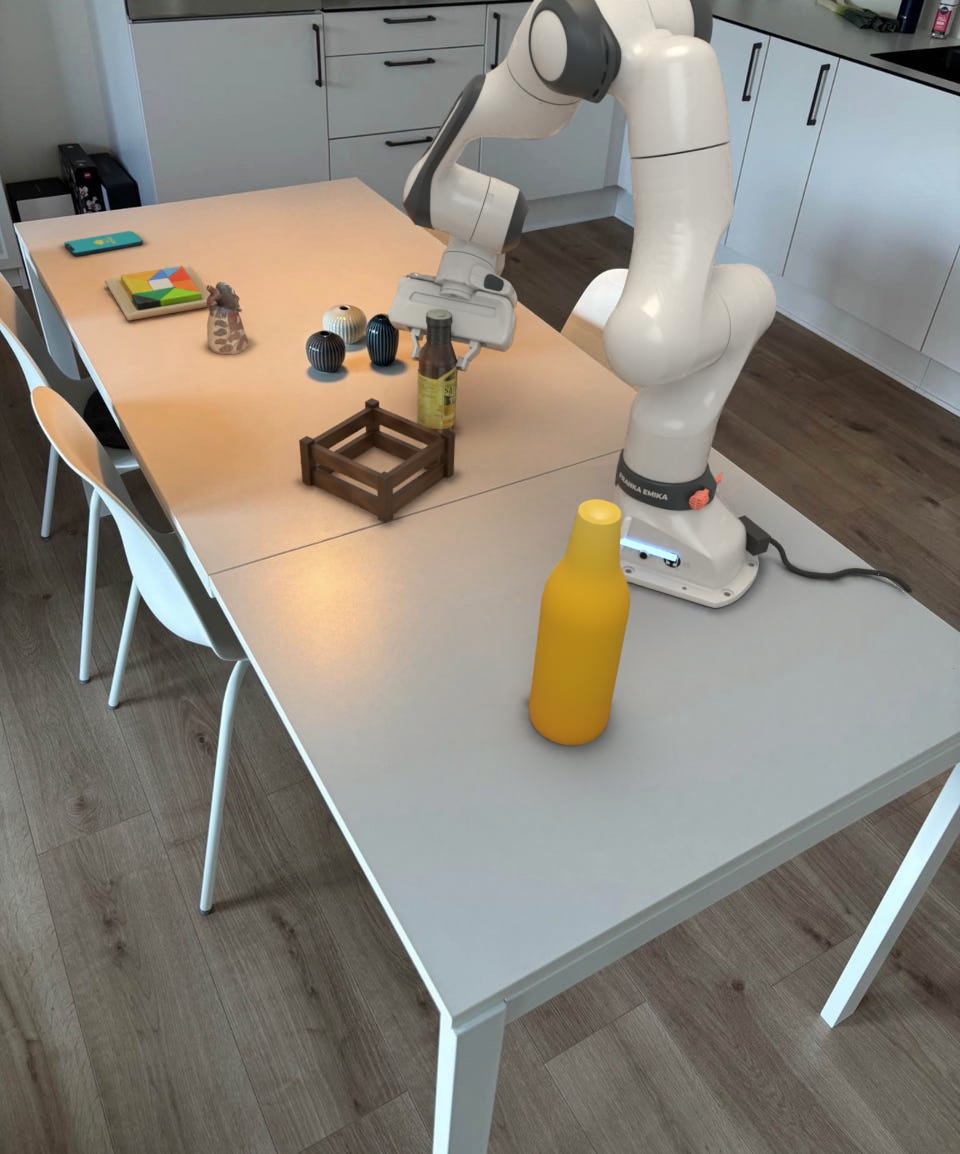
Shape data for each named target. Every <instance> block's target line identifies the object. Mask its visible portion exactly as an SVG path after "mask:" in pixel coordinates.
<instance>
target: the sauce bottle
mask: <svg viewBox="0 0 960 1154" xmlns="http://www.w3.org/2000/svg"><path fill="white" fill-rule="evenodd" d="M452 322H453V320H452V313H451V312H449V311H447V310H443V309H434V310H430V311H428V312H427V313H426V323H427V336H426V335H425V339H426V341H425V343H424V345H423V346H422V347H421V348H422V349H421V351H420V353H419V361H418V369H417V399H416V400H417V404H416V420H417V423H418V424H420V425H423V426H425V427H428V428H430V429H432V430H435V431H437V432H439V433H442V432H444V431H445V430H449V431H452V432H454V430H455V424H456V419H457V418H456V417H457V398H458V397H457V396H458V394H457V393H458V372H459V370H457V368H456V363H457V362H458V361H457V359H458V357H457V355H456V352H455V349H454V346H453V343H452V341H451V325H452Z"/></svg>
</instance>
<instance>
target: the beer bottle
mask: <svg viewBox="0 0 960 1154" xmlns="http://www.w3.org/2000/svg"><path fill="white" fill-rule="evenodd" d="M576 511H577V512H576V515H575V518H574V522H573V526H572V529H571V534H570V537H569V540H568V544H567V547H566V551H565V554H564V556H563V557H562V558H561V559H560V560H559V561H558V563H557V564H556V565H555V567H554V568H553V569H552V571H551V572H550V574H549V576H548V577H547V580H546V582H545V584H544V587H543V589H542V595H541V599H540V608H539V618H538V626H537V633H536V634H537V636H536V644H535V652H534V661H533V669H532V678H531V686H530V693H529V697H528V698H529V700H528V714H529V719H530V722H531V723H532V725H533V727H534V728H535V730H536V731H537V732H538V733H539V734H540V735H541V736H542V737H544V738H546V739H547V740H549V741H551V742H553V743H556V744H558V745H564V746H580V745H584V744H585V745H586V744H587V743H590V742H592V741H594V740H596V739H597V738H598V737H600V736H601V735H602V733H603V732H604V731H605V729H606V728H607V725H608V722H609V720H610V717H611V711H612V701H613V697H614V693H615V687H616V682H617V676H618V672H619V666H620V661H621V656H622V652H623V651H622V650H623V647H624V640H625V635H626V630H627V625H628V620H629V616H630V609H631V595H630V588H629V584H628V581H627V580H626V578H625V575H624V573H623V570H622V568H621V565H620V538H621V511H620V509H619V508H618V507H617V506H616V505H615V504H613V503H612V501H608V500H605V499H599V498H598V499H596V498H595V499H588V500H586V501H582V503H581V504H579V506H578V508H577V510H576Z"/></svg>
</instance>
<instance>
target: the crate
mask: <svg viewBox="0 0 960 1154" xmlns="http://www.w3.org/2000/svg"><path fill="white" fill-rule="evenodd" d="M381 426H382V427H384V428H386V429H389V430H392V431H393V432H396V433H398V434H401V435H402V436H405V437H408V438H410V439H412V440H415V441H416V442H419V443H421V444H424V445H426V446H425V447H424V448H421V447H418V446H416V445H414V444H412V443H409V442H406V441H404V440H402V439H400V438H397V437H395V436H393V435H391V434H389V433H386V432H384V431H382V430H381ZM363 429H365V432H363V433H361V434H360V435H358V436H356V437H355V438H354V439H352V440H350V441H349V442H346V443H345V444H344V445H342V446H341V447H338V448H337V449H335V450H331V448H333V447H335V446H336V445H338V444H339V443H341V442H342V441H344V440H346V439H348V438H350V437H351V436H353V435H355V434H356V433H358V432H359V431H361V430H363ZM298 442H299V454H300V469H301V479H302V480H301V481H302V484H304V485H306V486H309V487H312V486H315V487H317V488H318V489H321V490H324V491H325V492H328V493H329V494H331V495H334V496H336V497H337V498H340V499H342V500H343V501H346V502H348V503H351V504H353V505H355V506H357V507H359V508H361V509H363V510H365V511H367V512H369V513H371V514H373V515H375V516H377V519H378V520H379V521H382V522H384V523H385V524H387V523H389V522H390V521H391V520H393V519H394V515H395V514H396V513H397V512H398V511H400V510H401V509H403V508H404V507H405V506H407V505H408V504H409V503H412V502H413V501H414V500H416V498H419V496H421V495H422V494H424V493H425V492H426V491H428V490H429V489H431V488H432V487H434V486H435V485H436V484H438V483H439V482H441V481H442V480H443V479H444V478H445V479H449V478H450V477H451V478H452V476H453V475H454V473H455V452H456V451H455V450H456V447H455V446H456V433H455V432H454V431H453V432H452V431H449V430H445V431H444V432H442V433H439V432H437V431H435V430H432V429H430V428H428V427H425V426H423V425H420V424H418V422H415V421H413V420H411V419H408V418H406V417H404V416H401V415H399V414H396V413H395V412H391V411H389V410H387V409H385V408H382V407H380V400H377V399H375V398H372V397H371V398H369V399H367V400H365V401H364V408H363V409H361V410H360V411H358V412H356V413H354V414H352V415H351V416H349V417H348V418H346V419H344V420H343V421H341V422H339V423H338V424H335V425H334V426H333V427H331V428H329V429H328V430H326V431H324V432H322V433H321V434H319V435H318V436H316V437H314V438H313V437H311V436H308V435H305V436H304V437H302V438H300V439H299V440H298ZM373 447H375V448H376V449H379V450H382V451H384V452H386V453H389V454H391V455H392V456H395V457H397V458H400V459H402V460H404V461H403V462H401V463H399V464H398V465H397V466H394V468H392V469H391V470H389V471H388V472H387V471H385V470H384V471H382V472H379V471H377V470H376V469H373V468H371V467H369V466H366V465H364V464H362V463H359V462H357V461H355V460H354V459H356V458H358V457H359V456H361V455H362V454H364V453H365V452H368V450H370V449H372V448H373ZM422 469H425V471H424V472H422V473H421V474H419V475H418V476H416V477H415V478H413V479H412V480H410V481H409V482H407V483H406V484H405V485H403V486H402V487H400V488H399V489H398V490H396V491H395V492H394V489H395V488H396V487H398V486H400V485H401V484H403V483H404V482H406V481H407V480H408V479H410V478H411V477H412V476H414V475H415V474H417V473H418V472H419V471H422ZM335 472H336V473H339V474H341V475H343V476H345V477H348V478H349V479H352V480H353V481H355V482H358V483H360V484H363V485H365V486H366V487H369V488H371V489H373V490H375V491H377V495H376V494H374V493H372V492H370V491H368V490H366V489H363V488H361V487H359V486H357V485H355V484H353V483H351V482H349V481H347V480H344V479H342V478H340V477H338V476H336V475H334V474H332V473H335Z"/></svg>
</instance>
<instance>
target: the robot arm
mask: <svg viewBox="0 0 960 1154" xmlns="http://www.w3.org/2000/svg"><path fill="white" fill-rule="evenodd" d="M713 29H714V17H713V10H712V6H711V1H710V0H533V1H532V2H531V4H530V6H529V8H528V9H527V11H526V13H525V14H524V16H523V18H522V20H521V23H520V24H519V26H518V28H517V30H516V33H515V35H514V37H513V39H512V42H511V44H510V47H509V49H508V52H507V54H506V57H505V58H504V60H503V61H502V62H501V63H500V64H499V65H498V66H496V67H495V68H493V69H492V70H490V71H488V72H486V73H485V72H484V73H480V74H475V75H474V76H473V77H472V78H471V79H470V80H468V82H467V84H466V85H465V86H464V88H463V89H462V90H461V92H460V93H459V95H458V97H457V98H456V100H455V101H454V103H453V104H452V106H451V108H450V110H449V111H448V113H447V114H446V116H445V118H444V119H443V122H442V123H441V125H440V126H439V129H438V130H437V131H436V133H435V135H434V137H433V139H432V140H431V142H430V144H429V145H428V147H427V149H426V150H425V151H424V153H423V154H422V156H421V157H420V158H419V160H418V162H417V163H416V164H415V165H414V166H413V168H412V169H411V170H410V172H409V174H408V175H407V178H406V181H405V183H404V188H403V193H402V206H403V208H404V210H405V212H406V214H407V215H408V217H409V219H410V221H411V222H412V223H413V225H415V226H419V227H422V228H426V229H429V230H433V231H435V230H436V231H438V232H441V233H443V234H446V235H448V236H449V239H448V243H447V246H446V248H445V249H444V250H443V252H442V255H441V259H440V262H439V264H438V269H437V272H436V276H435V275H429V274H421V273H418V272H410V273H408V274H406V275H403V276H401V278H400V279H399V282H398V284H397V288H396V294H395V296H394V298H393V300H392V302H391V305H390V308H389V310H388V312H387V318H388V321H389V323H390V324H391V325H392V327H393V328H394V329H395V330H399V331H403V332H408V333H410V338H411V343H412V347H413V349H412V353H411V359H412V361H414V362H419V353H420V351H421V349H422V347H421V345H420V342H422V341H423V339H424V336H425V337H426V336H427V323H426V313H427V312H428V311H430V310H434V309H443V310H447V311H449V312H451V313H452V320H453V322H452V325H451V342H454V343H460V344H464V345H468V348H469V350H468V351H467V352H466V353H465V354H464V355H463V356H457V361H458V362H457V363H456V368H457V370H458V371H460V372H465V373H467V371H468V369H469V366H470V363H471V362H472V361H474V359H476V358H477V356H478V355H480V353H481V350H482V348H483V349H487V350H493V351H497V352H501V353H505V352H507V351H508V350H510V349H511V348H512V346H513V343H514V338H515V335H516V327H517V314H516V312H515V309H516V307H517V305H518V301H519V300H518V295H517V292H516V290H515V288H514V286H513V285H512V283H511V282H510V281H509V280H507V279H505V278H504V277H501V275H500V276H498V275H496V274H495V273H496V261H497V258H498V255H499V254H501V255H502V254H504V253H505V254H506V253H508V252H510V251H512V250H513V249H515V248H517V247H518V246H519V244H520V242H521V236H522V233H523V229H524V225H525V221H526V217H527V216H528V213H529V211H530V208H529V204H528V201H527V199H526V196H525V194H524V193H523V191H522V190H521V189H519V188H518V187H516V186H515V185H512V184H510V183H508V182H505V181H503V180H501V179H499V178H498V177H497V178H496V177H494V176H489V175H486V174H484V173H481V172H478V171H476V170H473V169H471V168H468V167H465V166H463V165H460V164H459V163H457V161H458V160H459V158H460V156H461V155H462V153H463V152H464V150H465V148H466V147H467V146H468V144H469V143H470V142H472V141H474V140H476V139H482V138H505V139H506V138H507V139H516V140H521V141H522V140H523V141H535V140H541V139H546V138H549V137H551V136H554V135H556V134H558V133H560V132H562V131H563V130H564V129H565V128H566V127H568V125H569V124H570V123H571V122H572V120H574V118H575V117H576V115H577V113H578V111H579V109H580V108H581V106H582V105H583V102H584V101H587V102H589V103H593V104H600V103H601V102H602V101H603V100H604V98H605V97H606V95H607V94H608V95H610V96H612V97H614V98H615V99H616V100H617V101H618V102H619V103H620V104H621V106H622V108H623V110H624V113H625V117H626V123H627V137H628V139H627V140H628V155H629V164H630V165H629V166H630V178H631V189H632V206H633V207H632V209H633V242H632V248H631V254H630V261H629V265H628V269H627V274H626V278H625V282H624V285H623V288H622V291H621V294H620V297H619V299H618V301H617V303H616V305H615V307H614V309H613V310H612V312H611V313H610V315H609V316H608V318H607V320H606V322H605V324H604V327H603V331H602V348H603V353H604V357H605V360H606V362H607V364H608V367H610V370H611V371H612V372H613V373H614V374H615V376H616V377H618V379H620V380H621V381H622V382H623V383H625V384H627V385H629V386H631V387H634V388H635V387H636V388H639V389H638V391H637V393H636V394H635V396H634V398H633V399H632V401H631V406H630V410H629V416H628V421H627V422H628V423H627V427H626V433H625V434H626V435H625V439H624V440H625V441H624V446H623V448H622V449H621V451H620V453H619V457H618V461H617V464H616V470H615V477H614V478H615V480H614V486H615V491H614V493H613V498H612V501H611V503H613V504H615V505H616V506H617V507H618V508H619V509H620V511H621V538H620V565H621V568H622V570H623V573H624V575H625V578H626V580H627V583H632V584H634V585H637V586H640V587H644V588H647V589H651V590H654V591H657V592H660V593H663V594H667V595H670V596H673V597H676V598H680V599H682V600H686V601H689V602H693V603H696V604H699V605H702V606H706V607H709V608H714V609H719V608H722V607H726V606H728V605H730V604H732V603H735V602H736V601H737V600H739V599H740V598H741V597H742V596H744V595H745V594H746V593H747V591H748V590H749V589H750V588H751V587H752V585H753V583H754V582H755V580H756V578H757V575H758V572H759V567H760V566H759V564H760V561H759V557H758V556H759V555H762V554H764V553H767V552H768V550H769V546H770V544H771V545H772V546H773V547H774V548H775V549H776V550H777V551H778V554H779V556H780V559H781V562H782V564H783V565H784V566H785V567H786V568H787V569H788V570H790V571H791V572H793V573H795V574H797V575H799V576H803V577H806V578H807V577H808V578H814V579H837V578H841V577H844V576H848V575H852V574H860V575H869V576H876V577H881V578H885V579H888V580H891V581H892V582H895V583H896V584H898V585H899V586H900V587H901V588H902V589H903V590H904V591H905V592H907V593H913V589H912V588H911V587H910V585H909V584H908V583H907V582H906V581H905V580H904V579H902V578H901V577H899V576H897V575H895V574H892V573H890V572H887V571H882V570H877V569H870V568H863V567H862V568H861V567H849V568H846V569H842V570H839V571H836V572H816V571H809V570H804V569H801V568H799V567H797V566H795V565H793V564H792V563H791V562H790V561H789V559H788V557H787V554H786V550H785V549H784V548H783V545H781V543H779V542H778V541H777V540H776V539H775V538H773V537H772V536H771V535H770V533H768V532H766V531H765V530H764V529H763V528H761V526H759V525H758V524H757V523H755V521H753V520H752V519H751V518H749V517H748V516H747V515H741V516H737V515H736V514H735V513H734V512H733V511H732V510H731V509H730V507H729V505H727V504H726V503H725V502H724V501H723V499H722V498H721V497H720V496H719V494H717V492H716V491H717V487H718V485H719V484H721V481H722V477H723V472H720V473H719V474H718V475H717V476H716V477H714V475H713V473H712V472H711V468H710V464H709V458H710V453H711V449H712V447H713V443H714V442H713V441H714V439H715V434H716V431H717V427H718V422H719V419H720V417H721V414H722V412H723V409H724V407H725V404H726V402H727V400H728V399H729V396H730V394H731V392H732V390H733V388H734V386H735V384H736V382H737V380H738V378H739V376H740V374H741V372H742V370H743V368H744V366H745V364H746V362H747V360H748V358H749V356H750V355H751V352H752V351H753V349H754V347H755V346H756V344H757V343H758V341H760V339H761V337H762V336H763V335H764V334H765V332H767V330H768V329H769V328H770V326H771V325H772V323H773V321H774V319H775V316H776V312H777V305H778V304H777V295H776V290H775V288H774V285H773V283H772V281H771V280H770V278H769V276H768V275H767V274H766V273H765V272H764V271H762V269H760V268H759V267H757V266H755V265H753V264H750V263H745V262H735V263H733V262H731V263H718V264H715V259H716V255H717V252H718V248H719V245H720V243H721V240H722V238H723V237H724V234H725V233H726V231H728V228H729V226H730V224H731V222H732V219H733V215H734V210H735V204H734V203H735V201H734V200H735V199H734V183H733V162H732V160H733V159H732V141H731V127H730V116H729V107H728V101H727V94H726V89H725V83H724V79H723V74H722V70H721V66H720V63H719V58H718V55H717V53H716V51H715V48H713V46H712V45H711V41H712V37H713ZM878 574H879V575H878Z"/></svg>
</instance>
